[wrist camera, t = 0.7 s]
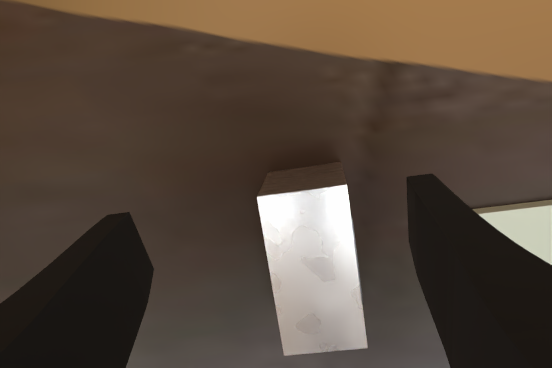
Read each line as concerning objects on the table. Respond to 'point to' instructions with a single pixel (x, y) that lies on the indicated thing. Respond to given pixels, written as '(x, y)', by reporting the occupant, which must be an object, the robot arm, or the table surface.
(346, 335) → the block
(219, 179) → the table surface
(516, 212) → the peg board
